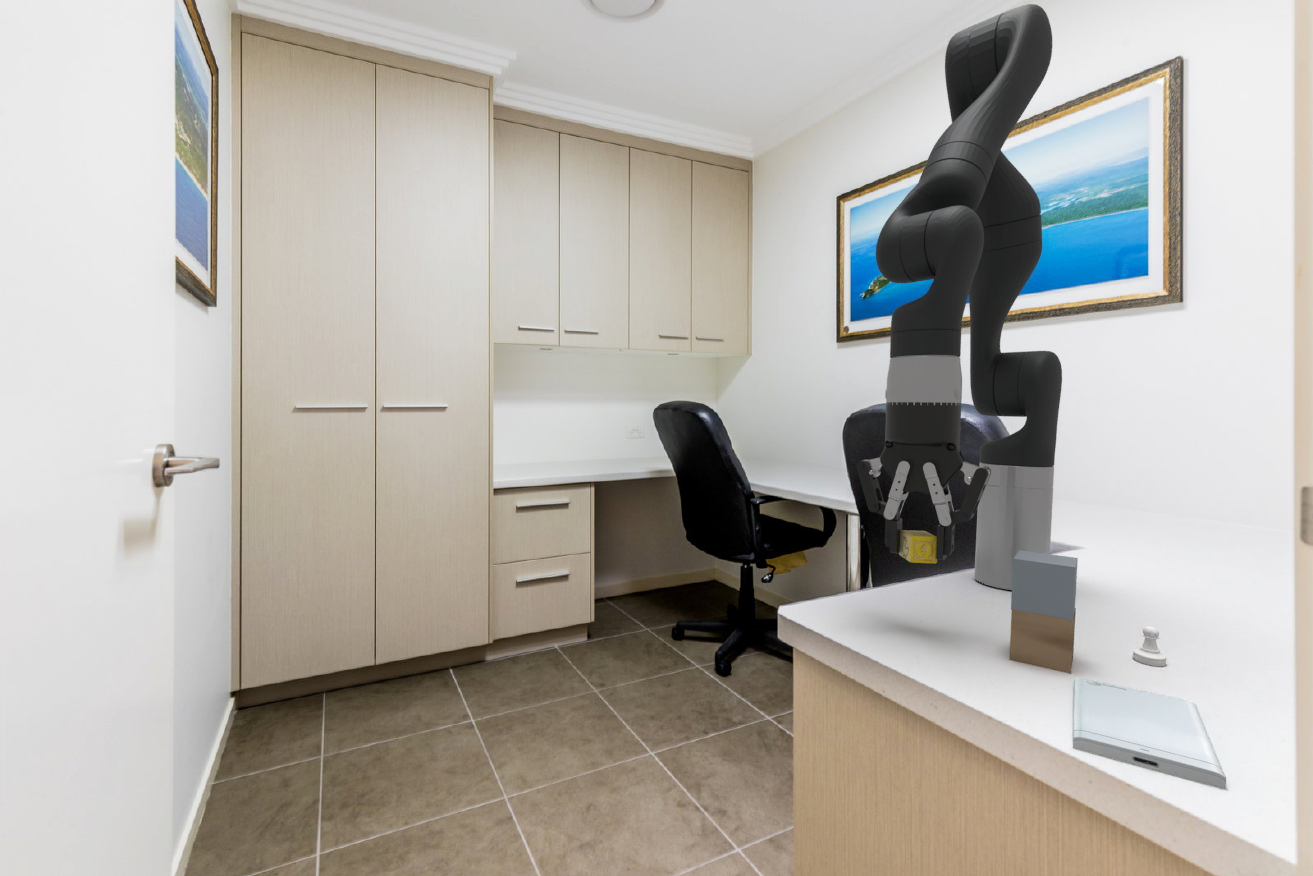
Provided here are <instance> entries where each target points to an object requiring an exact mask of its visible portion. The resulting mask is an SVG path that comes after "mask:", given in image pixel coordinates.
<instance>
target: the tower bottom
mask: <svg viewBox="0 0 1313 876" xmlns="http://www.w3.org/2000/svg"><path fill="white" fill-rule="evenodd" d="M1076 609H1077V608H1076V607H1075V610H1074V616H1073V621H1072V620H1067V619H1061V618H1056V617H1050V616H1045V615H1039V614H1034V613H1028V612H1023V611H1017V610H1012V609H1011V619H1010V634H1009V635H1010V637H1009V640H1010V641H1009V654H1008V657H1009V659H1008V660H1009V661H1011V662H1012V661H1013V662H1016V663H1022V664H1026V665H1030V666H1035V667H1038V668H1039V667H1040V668H1043V669H1047V670H1052V671H1056V672H1061V673H1066V674H1070V675H1072V668H1073V661H1074V650H1075V648H1074V645H1075V632H1076V631H1075V629H1076Z"/></svg>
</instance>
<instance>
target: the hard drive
mask: <svg viewBox="0 0 1313 876" xmlns="http://www.w3.org/2000/svg"><path fill="white" fill-rule="evenodd" d="M1072 689H1073V692H1072V693H1073V695H1072V749H1075V750H1078V751H1083V752H1087V753H1090V754H1094V755H1098V756H1100V757H1105V758H1108V759H1113V760H1114V761H1120V762H1123V763H1126V764H1131V765H1134V766H1136V767H1137V766H1138V767H1141V768H1145V769H1148V770H1152V771H1155V772H1160V773H1164V774H1167V775H1171V776H1175V777H1178V778H1183V779H1186V780H1189V781H1193V782H1196V783H1200V784H1203V785H1207V786H1211V787H1215V788H1218V789H1222V790H1226V789H1227V788H1226V787H1227V786H1226V785H1227V776H1226V774H1225V772H1224V770H1223V768H1222V765H1221V763H1220V760H1219V757H1218V756H1217V753H1216V750H1215V748H1214V746H1213V743H1212V741H1211V738H1210V736H1209V734H1208V731H1207V729H1206V726H1205V723H1204V722H1203V719H1202V717H1201V713H1200V711H1199V709H1198V707H1197V704H1196V703H1195V702H1193V701H1191V700H1189V699H1184V698H1181V697H1175V696H1171V695H1166V694H1162V693H1161V694H1160V693H1157V692H1152V691H1147V690H1141V689H1138V688H1133V687H1128V686H1123V685H1118V684H1113V683H1110V682H1109V683H1108V682H1104V681H1099V680H1094V679H1089V678H1085V677H1074V678H1073V687H1072Z"/></svg>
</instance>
